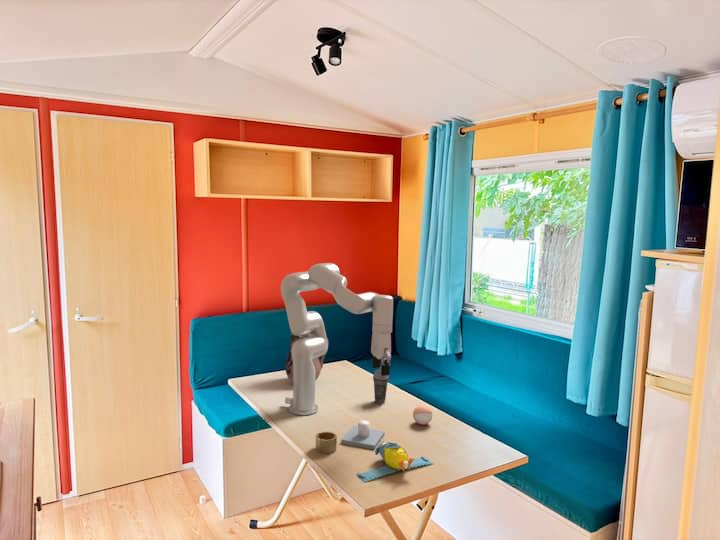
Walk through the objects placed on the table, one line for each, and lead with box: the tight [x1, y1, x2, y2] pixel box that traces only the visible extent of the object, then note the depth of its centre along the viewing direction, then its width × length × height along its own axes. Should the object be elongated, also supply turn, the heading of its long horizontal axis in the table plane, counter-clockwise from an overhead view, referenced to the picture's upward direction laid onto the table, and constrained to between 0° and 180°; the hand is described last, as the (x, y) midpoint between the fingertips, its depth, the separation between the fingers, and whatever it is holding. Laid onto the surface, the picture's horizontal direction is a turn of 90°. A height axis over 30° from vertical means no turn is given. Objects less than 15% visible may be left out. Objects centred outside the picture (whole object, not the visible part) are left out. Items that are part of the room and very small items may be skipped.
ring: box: [315, 430, 338, 455], centre depth 181 cm, size 7×7×5 cm
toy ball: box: [412, 404, 433, 426], centre depth 206 cm, size 8×8×8 cm
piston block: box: [341, 419, 385, 451], centre depth 190 cm, size 13×13×6 cm
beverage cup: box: [372, 367, 390, 405], centre depth 228 cm, size 7×7×20 cm
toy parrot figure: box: [356, 441, 434, 483], centre depth 169 cm, size 28×9×15 cm
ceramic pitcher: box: [285, 333, 330, 383], centre depth 251 cm, size 18×21×25 cm
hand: (380, 371), depth 192 cm, fingers open, 9 cm apart
